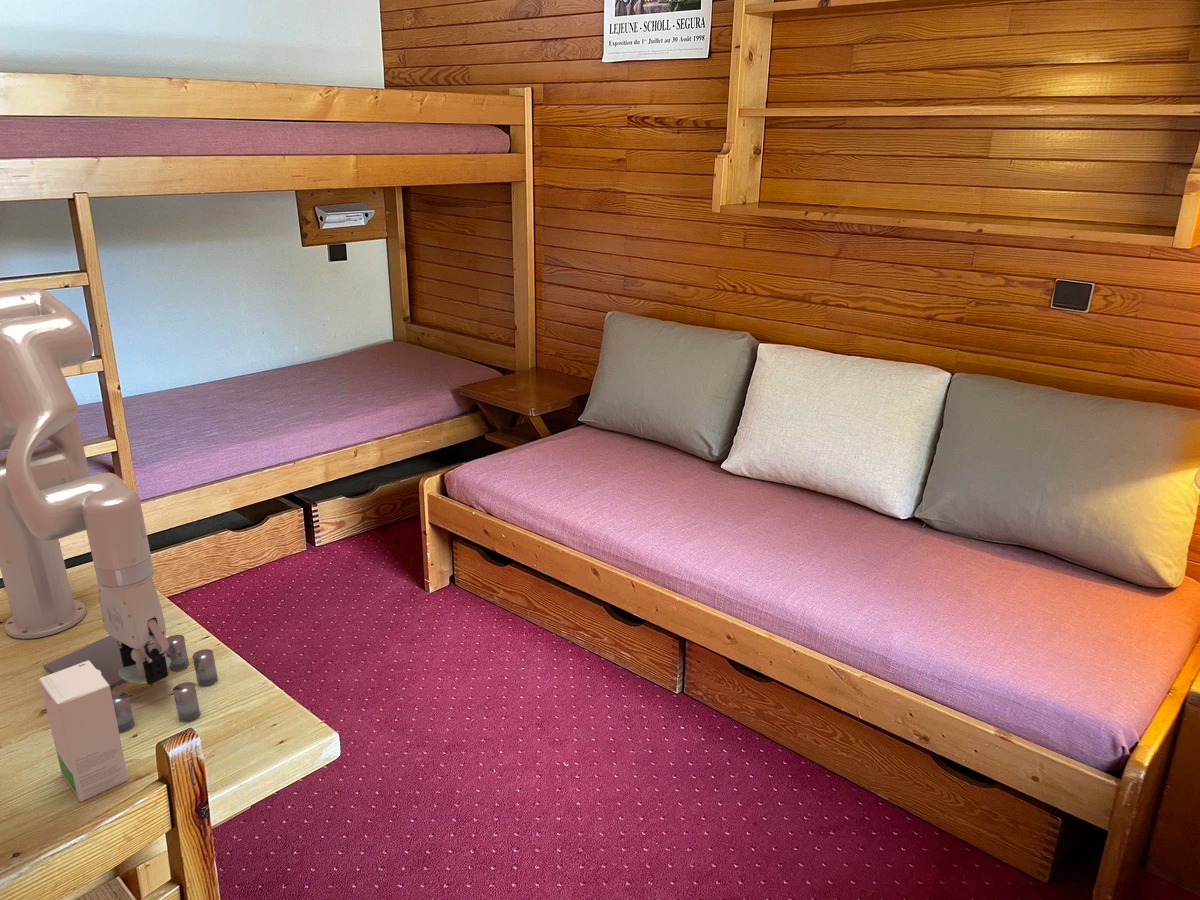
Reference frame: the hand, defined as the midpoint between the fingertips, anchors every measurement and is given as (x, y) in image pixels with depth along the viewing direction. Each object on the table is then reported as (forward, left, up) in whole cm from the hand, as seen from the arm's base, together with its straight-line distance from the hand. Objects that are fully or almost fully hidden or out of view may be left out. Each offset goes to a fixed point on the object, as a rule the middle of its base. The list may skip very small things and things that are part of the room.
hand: (146, 672), depth 142 cm
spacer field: (+4, 0, -4) cm, 5 cm away
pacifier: (-1, 0, -1) cm, 2 cm away
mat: (-14, +2, -4) cm, 14 cm away
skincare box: (+13, -15, -4) cm, 20 cm away
